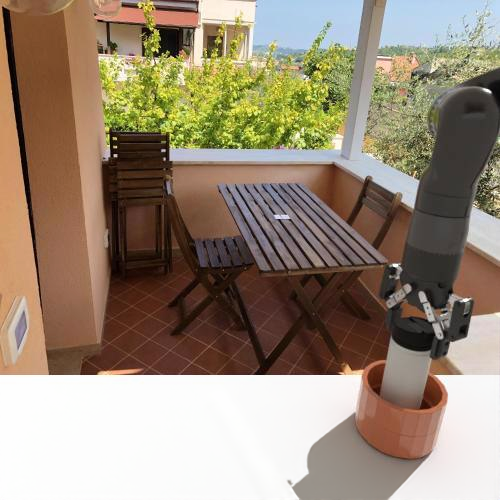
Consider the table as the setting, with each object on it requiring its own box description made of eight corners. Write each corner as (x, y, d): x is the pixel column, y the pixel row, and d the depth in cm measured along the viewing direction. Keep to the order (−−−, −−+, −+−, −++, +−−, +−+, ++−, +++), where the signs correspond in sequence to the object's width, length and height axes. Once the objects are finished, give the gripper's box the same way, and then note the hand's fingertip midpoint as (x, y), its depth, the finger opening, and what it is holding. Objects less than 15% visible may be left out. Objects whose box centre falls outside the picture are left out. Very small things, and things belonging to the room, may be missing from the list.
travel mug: (389, 445, 67) (412, 335, 59) (367, 415, 72) (386, 312, 65) (423, 438, 68) (450, 330, 61) (399, 409, 74) (421, 308, 67)
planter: (394, 393, 79) (402, 352, 75) (453, 443, 68) (466, 397, 65) (339, 414, 73) (345, 371, 70) (394, 472, 62) (405, 424, 59)
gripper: (500, 256, 54) (470, 362, 60) (414, 223, 66) (396, 315, 72) (461, 265, 51) (434, 376, 57) (377, 229, 63) (361, 324, 69)
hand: (412, 342), depth 64 cm, fingers open, 8 cm apart
